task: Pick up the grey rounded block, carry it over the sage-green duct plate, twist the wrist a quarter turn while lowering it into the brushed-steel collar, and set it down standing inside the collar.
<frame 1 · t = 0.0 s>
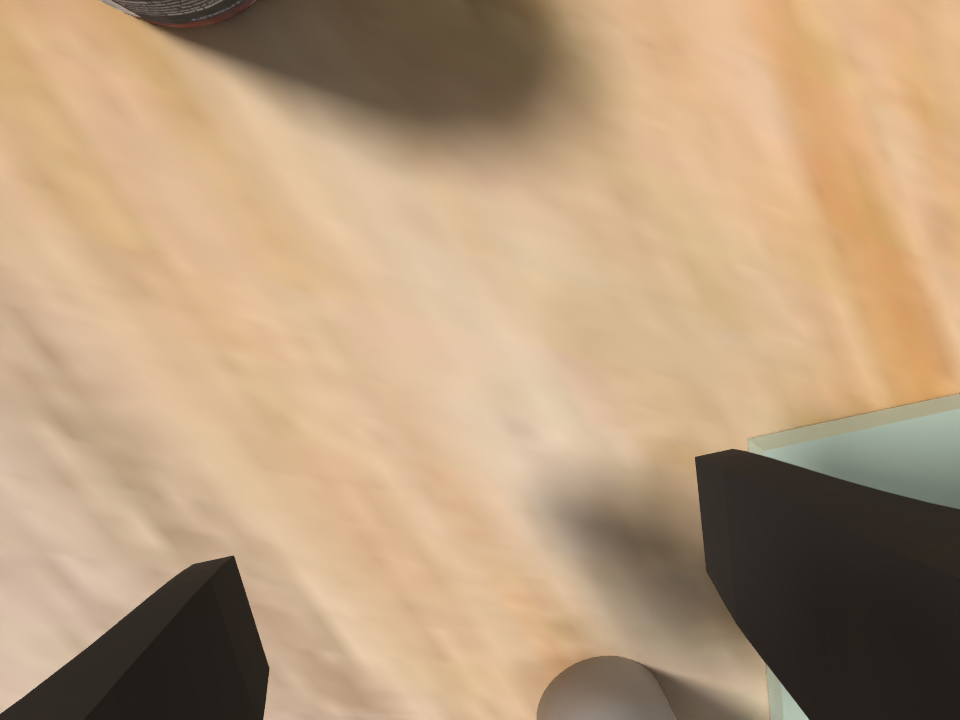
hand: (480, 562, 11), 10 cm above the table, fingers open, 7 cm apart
grey rounded block: (600, 711, 24), on the table
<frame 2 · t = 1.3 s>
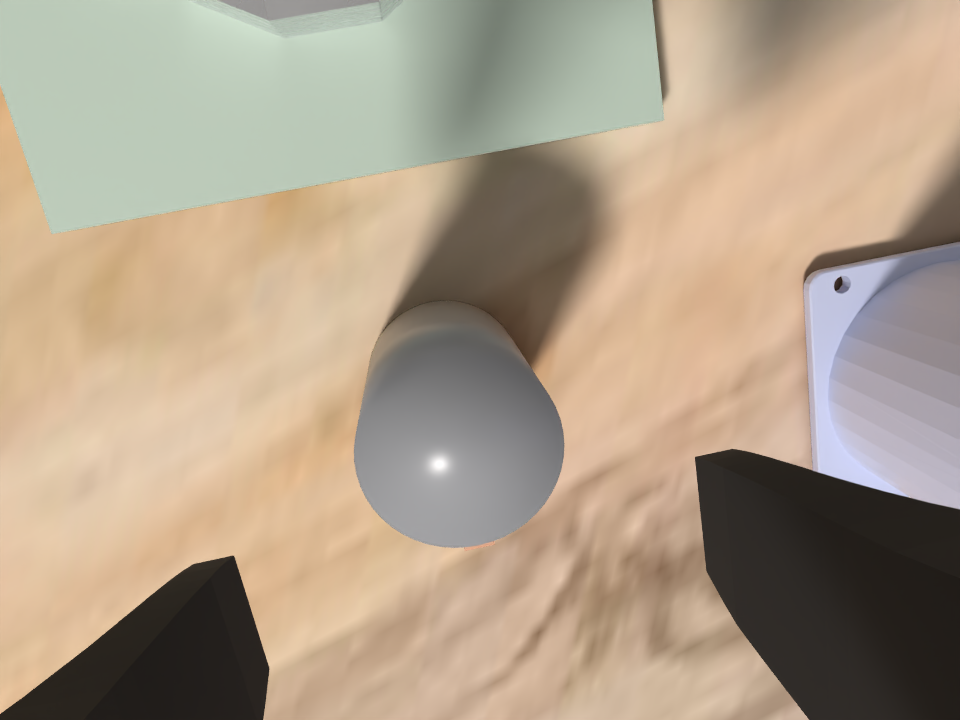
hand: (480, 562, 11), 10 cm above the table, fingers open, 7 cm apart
grey rounded block: (445, 375, 21), on the table
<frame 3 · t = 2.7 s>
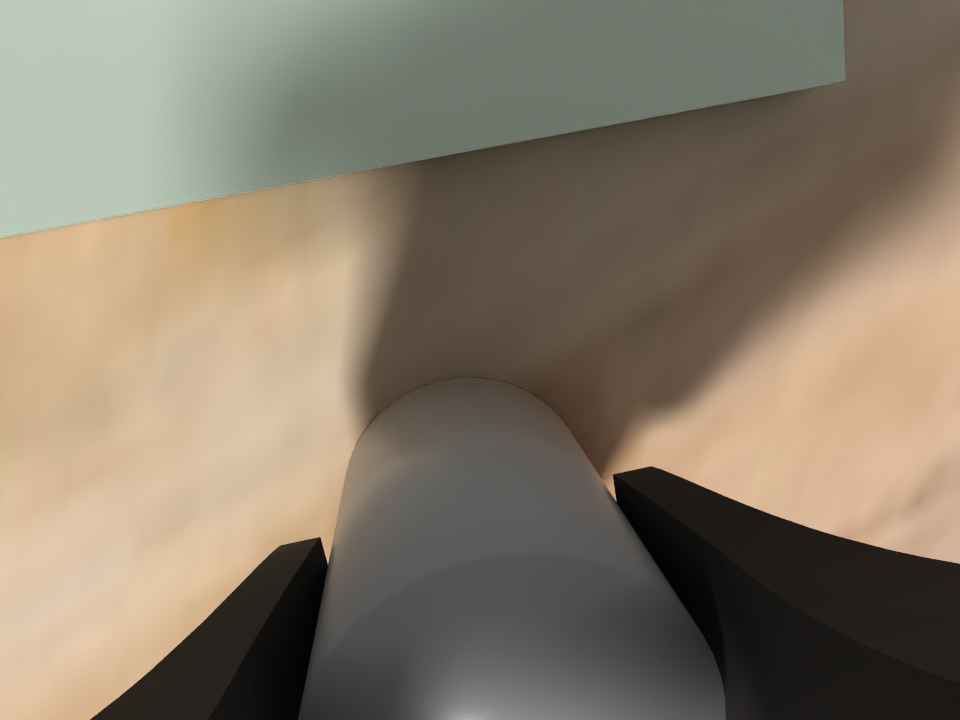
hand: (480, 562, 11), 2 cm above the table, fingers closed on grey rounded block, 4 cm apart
grey rounded block: (466, 493, 13), on the table, touching gripper
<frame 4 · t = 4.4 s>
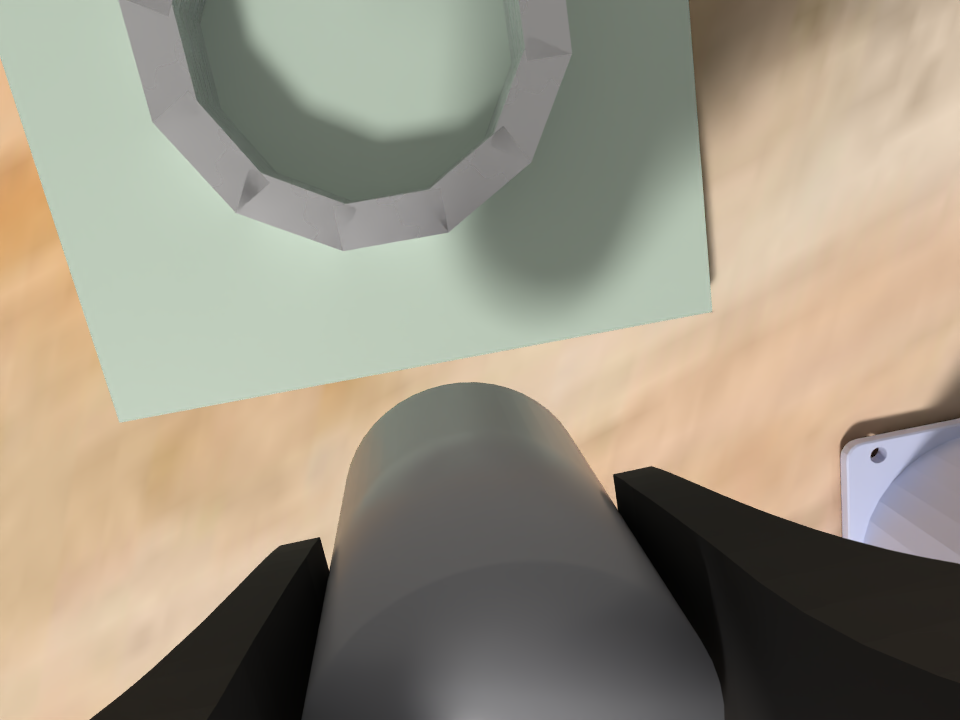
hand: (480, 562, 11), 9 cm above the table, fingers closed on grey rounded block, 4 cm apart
grey rounded block: (466, 497, 13), point 7 cm above the table, touching gripper
duct plate: (362, 51, 17), on the table
duct collar: (357, 35, 15), on the duct plate, point 1 cm above the table
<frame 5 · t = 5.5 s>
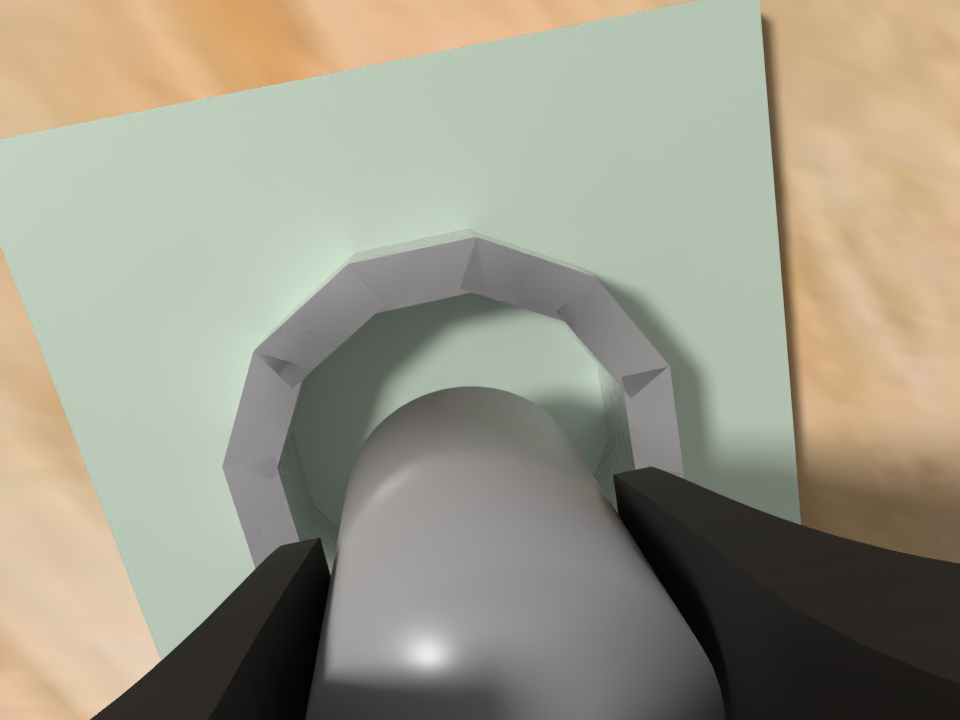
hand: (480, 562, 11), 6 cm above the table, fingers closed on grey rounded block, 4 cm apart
grey rounded block: (467, 500, 13), point 4 cm above the table, touching gripper
duct plate: (452, 420, 17), on the table
duct collar: (458, 451, 15), on the duct plate, point 1 cm above the table
when the fingers open (4 cm above the table, at t = 6.4 s): grey rounded block stays where it is, resting on duct plate.
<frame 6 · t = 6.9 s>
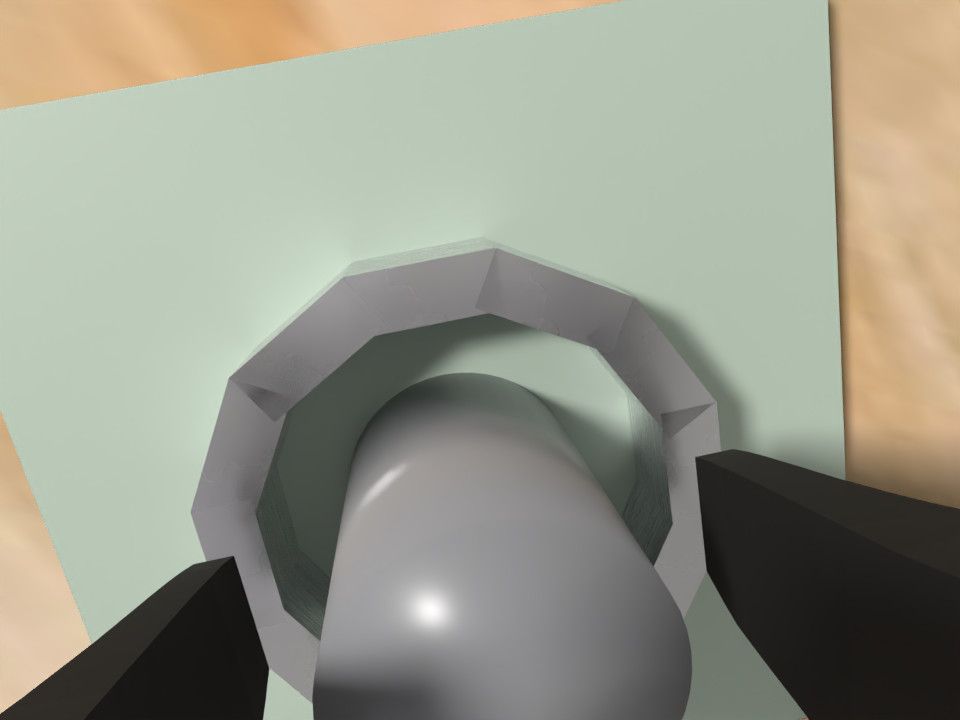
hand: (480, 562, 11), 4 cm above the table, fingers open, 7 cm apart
grey rounded block: (463, 480, 14), point 1 cm above the table, touching duct plate
duct plate: (458, 452, 15), on the table
duct collar: (466, 493, 13), on the duct plate, point 1 cm above the table
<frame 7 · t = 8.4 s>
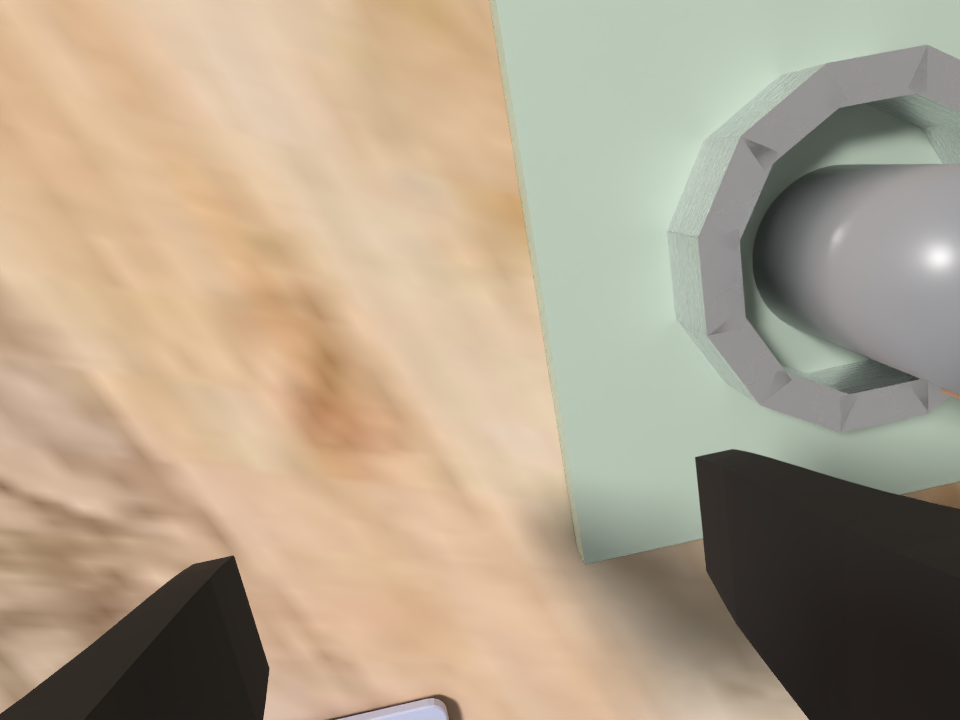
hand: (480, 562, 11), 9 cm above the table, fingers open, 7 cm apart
grey rounded block: (832, 250, 19), point 1 cm above the table, touching duct plate
duct plate: (811, 240, 20), on the table
duct collar: (855, 247, 18), on the duct plate, point 1 cm above the table
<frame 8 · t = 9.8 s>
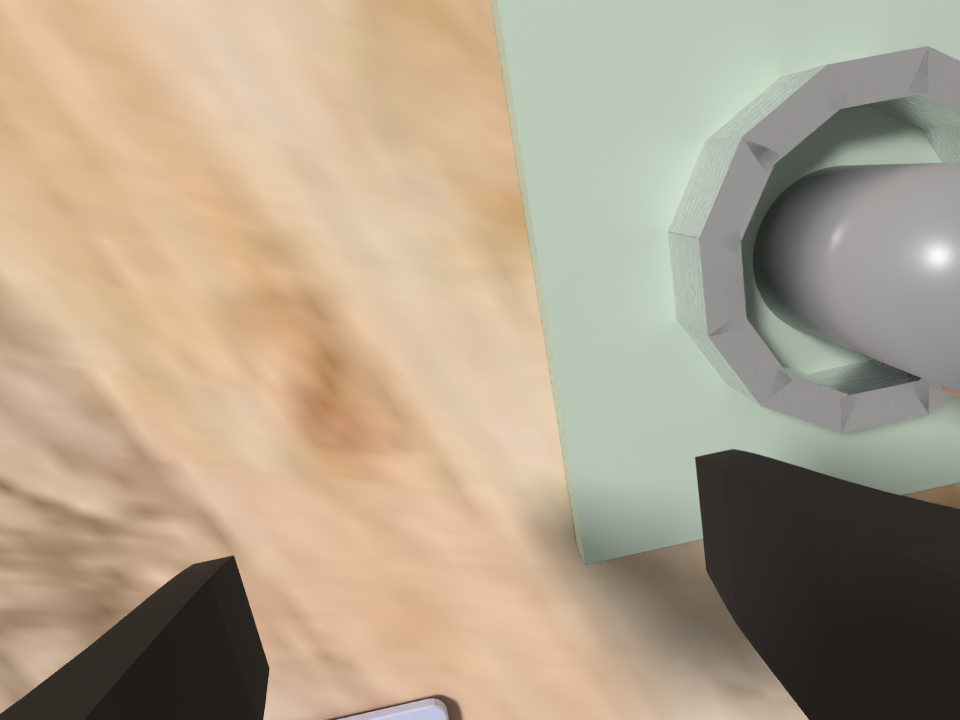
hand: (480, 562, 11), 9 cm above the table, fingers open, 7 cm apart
grey rounded block: (833, 251, 19), point 1 cm above the table, touching duct plate
duct plate: (811, 241, 20), on the table
duct collar: (856, 248, 18), on the duct plate, point 1 cm above the table
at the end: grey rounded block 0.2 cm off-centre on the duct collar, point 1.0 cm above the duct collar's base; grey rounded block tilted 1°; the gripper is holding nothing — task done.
